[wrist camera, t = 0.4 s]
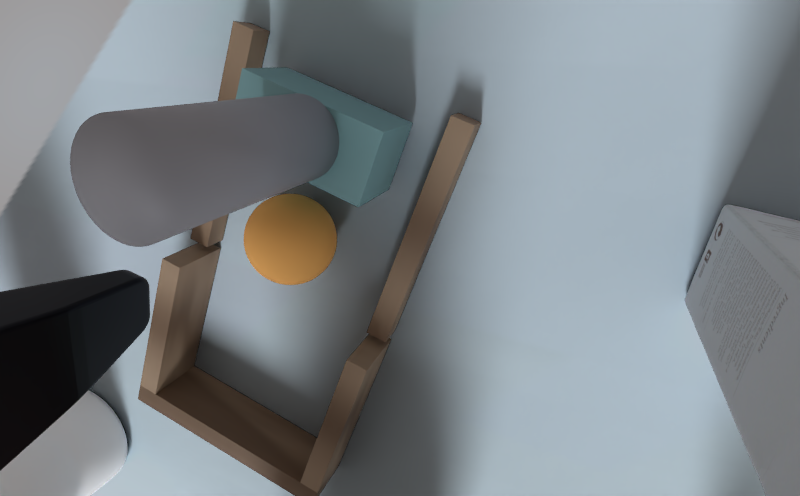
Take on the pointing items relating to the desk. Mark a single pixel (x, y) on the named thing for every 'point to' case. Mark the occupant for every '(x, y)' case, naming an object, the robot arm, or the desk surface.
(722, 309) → the skincare box
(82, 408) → the water bottle
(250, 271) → the desk surface
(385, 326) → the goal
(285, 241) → the ball
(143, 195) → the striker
